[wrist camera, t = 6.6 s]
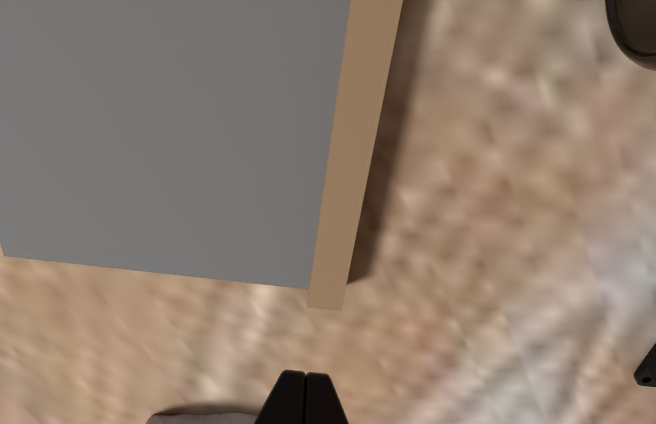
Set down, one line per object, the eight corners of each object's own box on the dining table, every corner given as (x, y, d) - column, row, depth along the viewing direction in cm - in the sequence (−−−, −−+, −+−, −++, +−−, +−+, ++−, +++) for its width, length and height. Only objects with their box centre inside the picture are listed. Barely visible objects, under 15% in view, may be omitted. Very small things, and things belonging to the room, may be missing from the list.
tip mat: (435, -201, 15) (443, -205, 13) (341, 287, 26) (341, 310, 24) (-150, -295, 14) (-201, -310, 13) (8, 250, 25) (-10, 272, 23)
